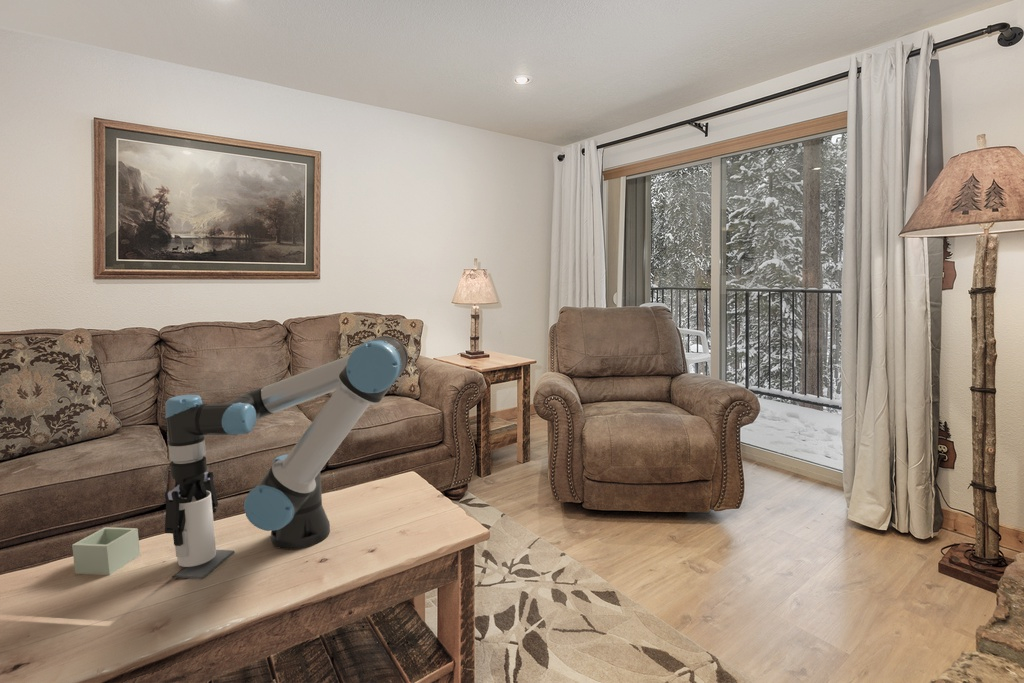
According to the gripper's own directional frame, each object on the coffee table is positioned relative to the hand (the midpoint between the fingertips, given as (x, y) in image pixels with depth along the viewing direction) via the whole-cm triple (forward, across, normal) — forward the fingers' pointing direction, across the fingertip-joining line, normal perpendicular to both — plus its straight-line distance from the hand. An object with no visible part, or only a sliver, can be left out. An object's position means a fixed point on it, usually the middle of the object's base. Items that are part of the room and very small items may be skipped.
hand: (195, 546), depth 129 cm
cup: (+3, 0, 0) cm, 3 cm away
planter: (+4, +3, -21) cm, 22 cm away
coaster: (+5, 0, 0) cm, 5 cm away
